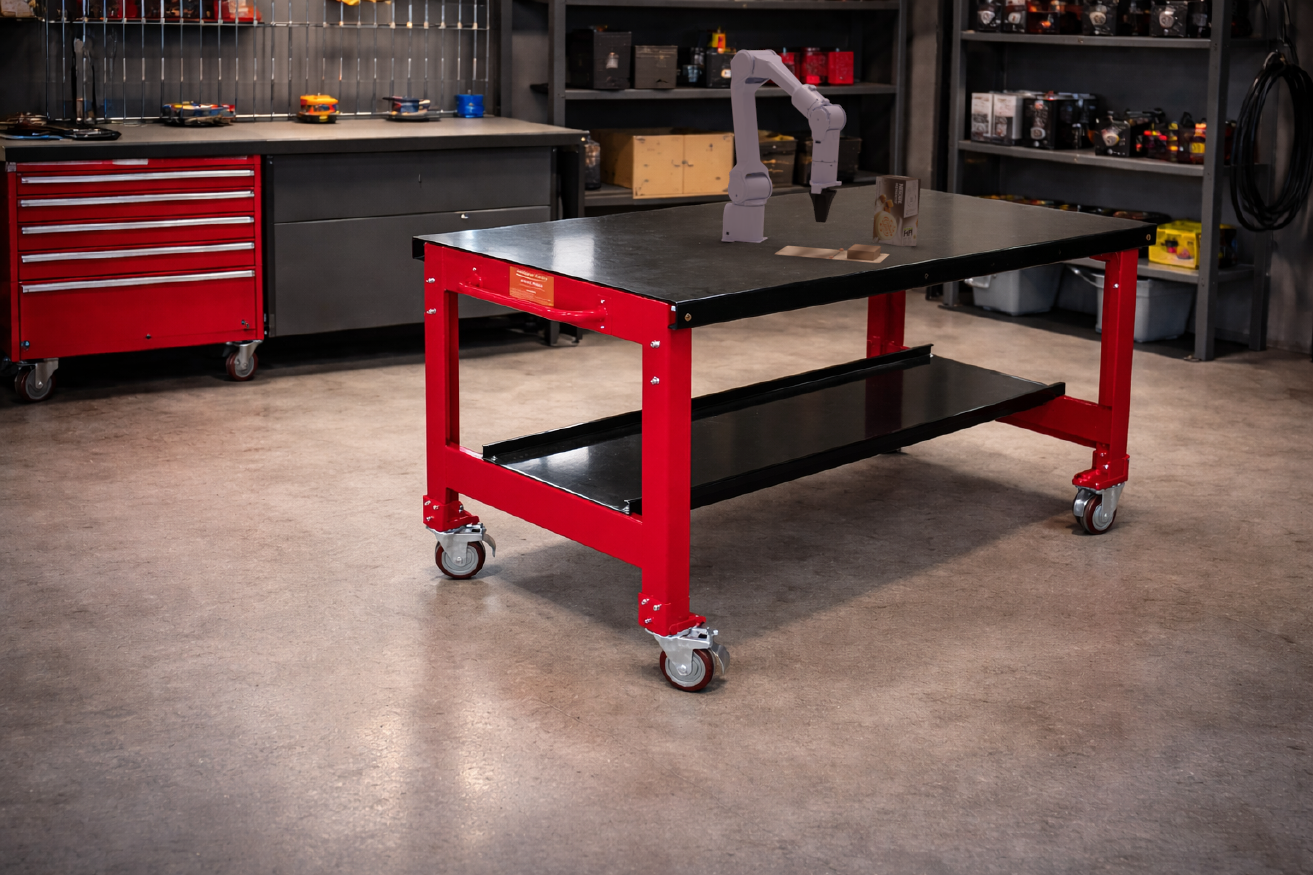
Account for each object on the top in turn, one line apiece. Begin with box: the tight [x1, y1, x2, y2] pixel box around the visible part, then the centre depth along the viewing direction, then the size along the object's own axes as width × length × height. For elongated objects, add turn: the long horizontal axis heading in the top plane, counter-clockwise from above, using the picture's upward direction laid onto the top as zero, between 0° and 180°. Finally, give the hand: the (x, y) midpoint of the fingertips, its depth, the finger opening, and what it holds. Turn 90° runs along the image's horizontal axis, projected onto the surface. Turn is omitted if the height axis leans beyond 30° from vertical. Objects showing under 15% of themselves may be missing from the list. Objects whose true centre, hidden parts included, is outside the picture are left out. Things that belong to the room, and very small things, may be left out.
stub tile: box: [846, 243, 882, 261], centre depth 306 cm, size 6×8×2 cm
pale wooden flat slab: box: [774, 245, 890, 264], centre depth 309 cm, size 24×12×1 cm, turn 71°
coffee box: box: [871, 174, 922, 247], centre depth 324 cm, size 9×6×16 cm
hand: (820, 222), depth 308 cm, fingers closed
